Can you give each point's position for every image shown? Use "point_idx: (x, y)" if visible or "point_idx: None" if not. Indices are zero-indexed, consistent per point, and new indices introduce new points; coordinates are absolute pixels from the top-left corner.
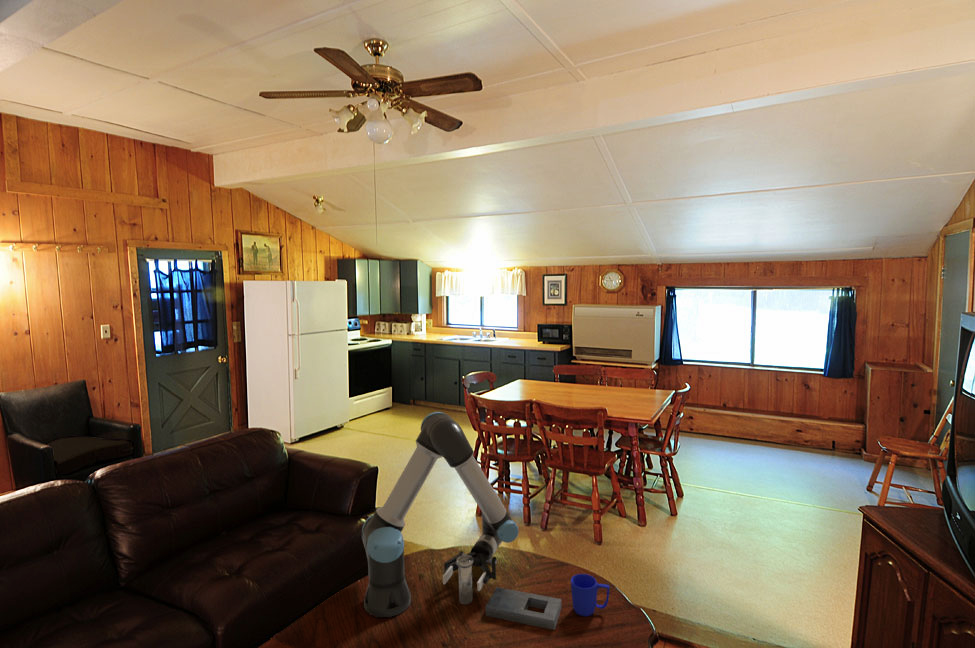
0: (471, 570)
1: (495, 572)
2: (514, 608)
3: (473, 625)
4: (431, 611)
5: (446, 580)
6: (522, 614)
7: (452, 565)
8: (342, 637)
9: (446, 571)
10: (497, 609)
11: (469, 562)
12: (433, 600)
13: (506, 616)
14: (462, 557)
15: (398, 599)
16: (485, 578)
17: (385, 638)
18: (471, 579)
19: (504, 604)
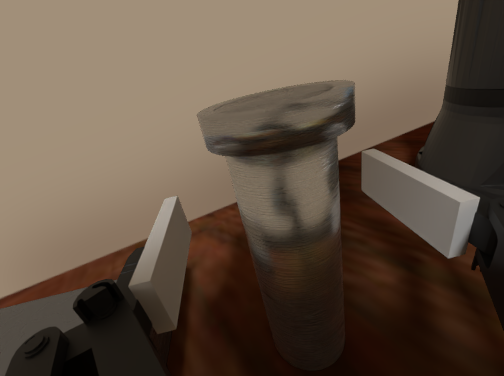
0: (235, 193)
1: (24, 342)
2: (30, 320)
3: (206, 246)
4: (360, 222)
5: (373, 190)
6: (7, 308)
7: (496, 221)
8: (412, 132)
9: (406, 164)
10: (115, 282)
11: (216, 106)
12: (421, 255)
13: None
14: (315, 90)
15: (427, 143)
16: (139, 257)
17: (352, 155)
18: (248, 244)
19: (75, 320)
